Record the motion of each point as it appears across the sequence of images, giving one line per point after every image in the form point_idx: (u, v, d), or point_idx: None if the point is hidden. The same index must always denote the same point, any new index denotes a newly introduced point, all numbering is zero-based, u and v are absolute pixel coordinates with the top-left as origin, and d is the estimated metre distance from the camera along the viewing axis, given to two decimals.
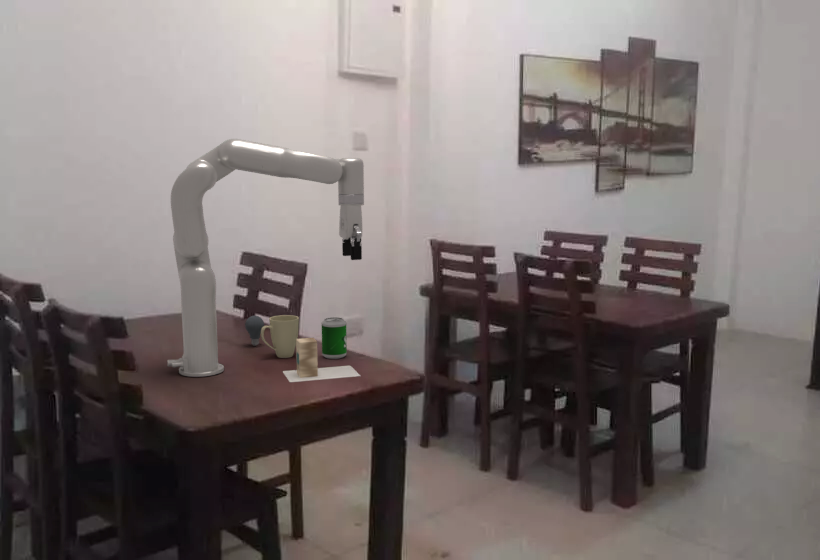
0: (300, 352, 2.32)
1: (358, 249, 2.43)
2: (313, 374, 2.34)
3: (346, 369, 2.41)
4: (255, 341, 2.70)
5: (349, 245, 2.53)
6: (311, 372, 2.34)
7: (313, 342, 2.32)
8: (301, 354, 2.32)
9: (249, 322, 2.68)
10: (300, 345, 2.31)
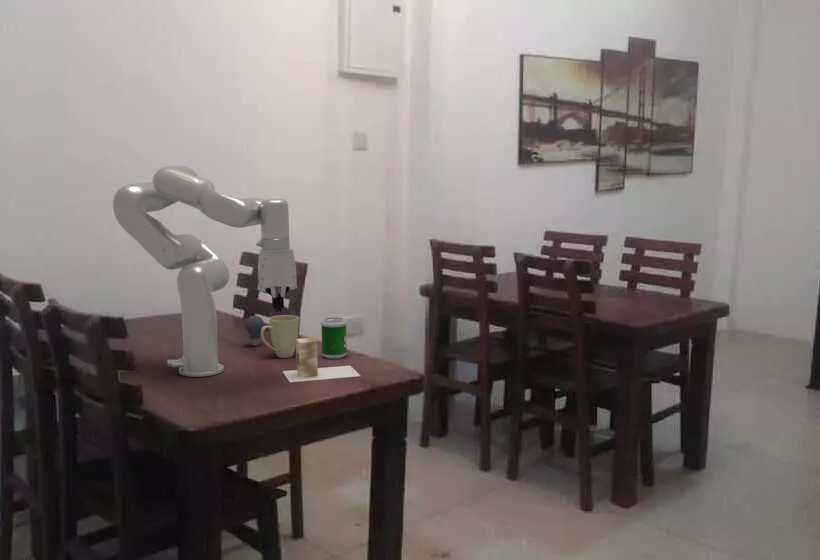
0: (300, 352, 2.32)
1: None
2: (313, 374, 2.34)
3: (346, 369, 2.41)
4: (255, 341, 2.70)
5: None
6: (311, 372, 2.34)
7: (313, 342, 2.32)
8: (301, 354, 2.32)
9: (249, 322, 2.68)
10: (300, 345, 2.31)
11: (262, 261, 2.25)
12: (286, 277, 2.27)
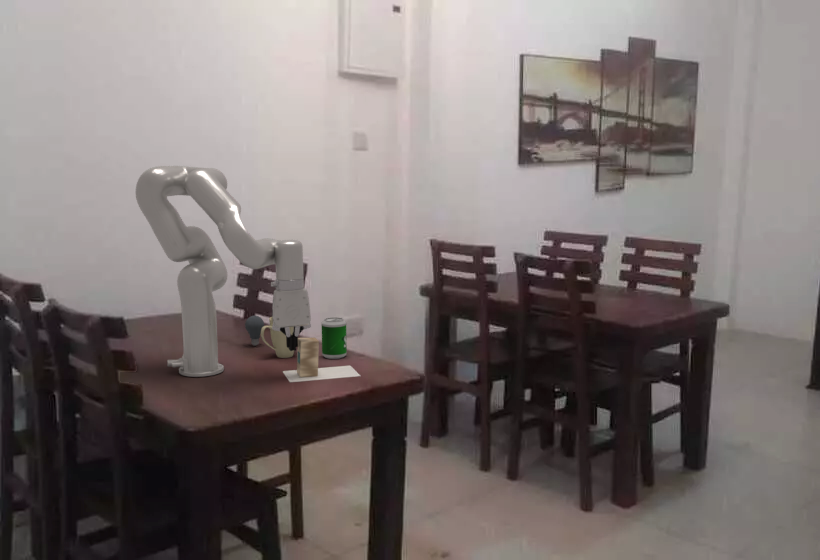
0: (301, 351, 2.32)
1: None
2: (313, 374, 2.34)
3: (346, 369, 2.41)
4: (255, 341, 2.70)
5: None
6: (311, 372, 2.34)
7: (315, 342, 2.33)
8: (302, 353, 2.32)
9: (249, 322, 2.68)
10: (302, 344, 2.31)
11: (277, 302, 2.27)
12: (300, 317, 2.30)
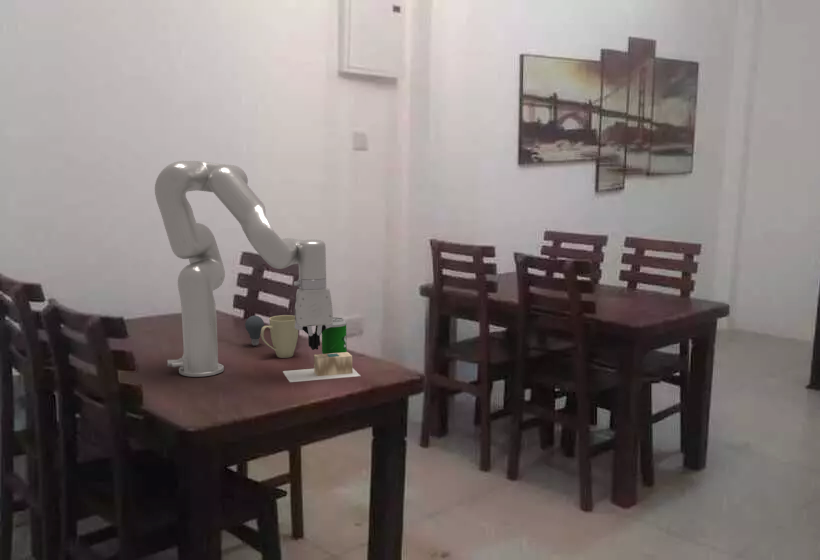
0: (342, 357, 2.36)
1: None
2: (319, 371, 2.34)
3: None
4: (255, 341, 2.70)
5: None
6: (321, 369, 2.34)
7: (351, 369, 2.37)
8: (340, 358, 2.36)
9: (249, 322, 2.68)
10: (349, 357, 2.36)
11: (300, 301, 2.29)
12: (323, 316, 2.32)
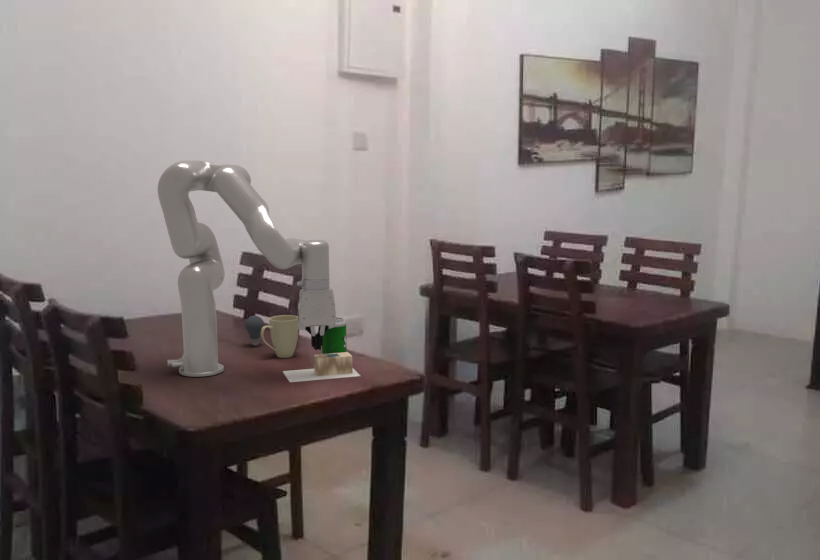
0: (342, 357, 2.36)
1: None
2: (319, 371, 2.34)
3: None
4: (255, 341, 2.70)
5: None
6: (321, 369, 2.34)
7: (351, 369, 2.37)
8: (340, 358, 2.36)
9: (249, 322, 2.68)
10: (349, 357, 2.36)
11: (303, 301, 2.30)
12: (326, 316, 2.32)
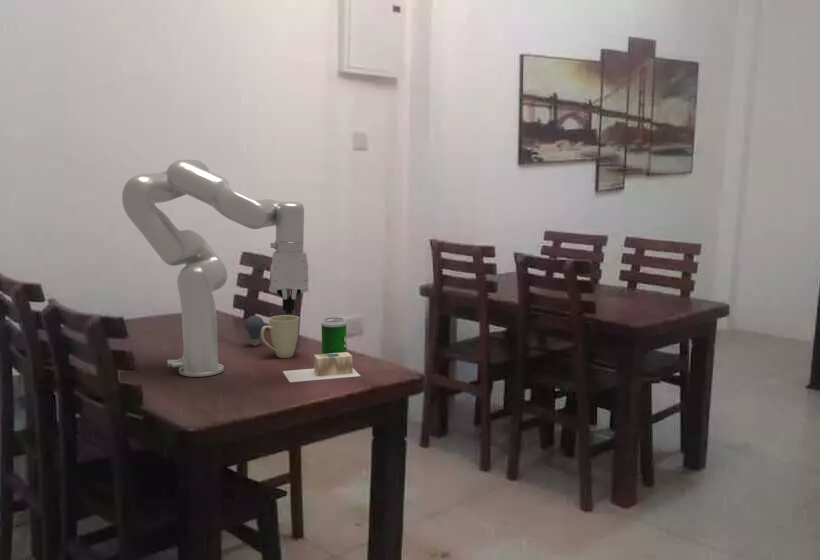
0: (342, 357, 2.36)
1: None
2: (319, 371, 2.34)
3: None
4: (255, 341, 2.70)
5: None
6: (321, 369, 2.34)
7: (351, 369, 2.37)
8: (340, 358, 2.36)
9: (249, 322, 2.68)
10: (349, 357, 2.36)
11: (275, 263, 2.26)
12: (298, 280, 2.28)
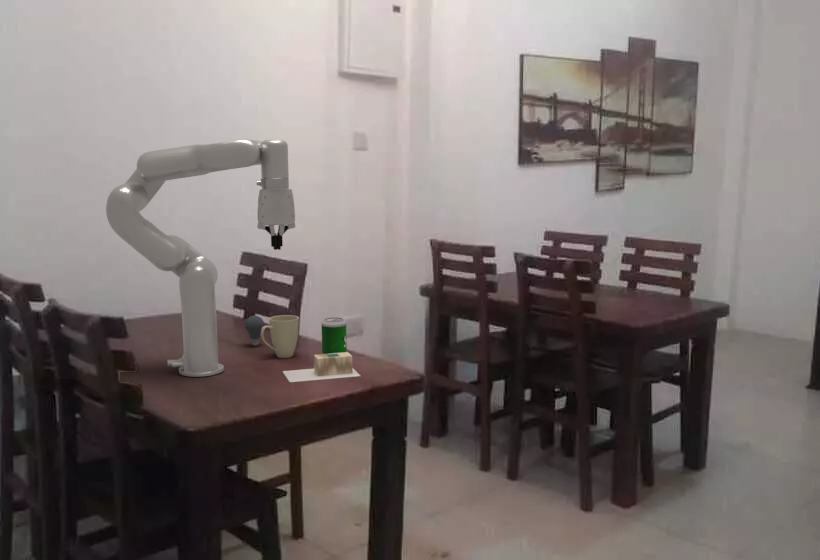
0: (342, 357, 2.36)
1: None
2: (319, 371, 2.34)
3: None
4: (255, 341, 2.70)
5: None
6: (321, 369, 2.34)
7: (351, 369, 2.37)
8: (340, 358, 2.36)
9: (249, 322, 2.68)
10: (349, 357, 2.36)
11: (262, 199, 2.32)
12: (285, 216, 2.34)
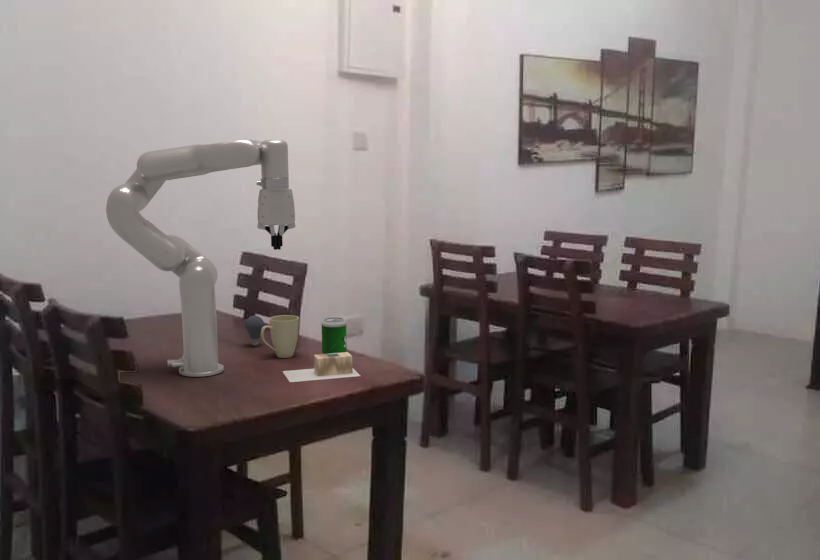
0: (342, 357, 2.36)
1: None
2: (319, 371, 2.34)
3: None
4: (255, 341, 2.70)
5: None
6: (321, 369, 2.34)
7: (351, 369, 2.37)
8: (340, 358, 2.36)
9: (249, 322, 2.68)
10: (349, 357, 2.36)
11: (262, 199, 2.32)
12: (285, 216, 2.34)
